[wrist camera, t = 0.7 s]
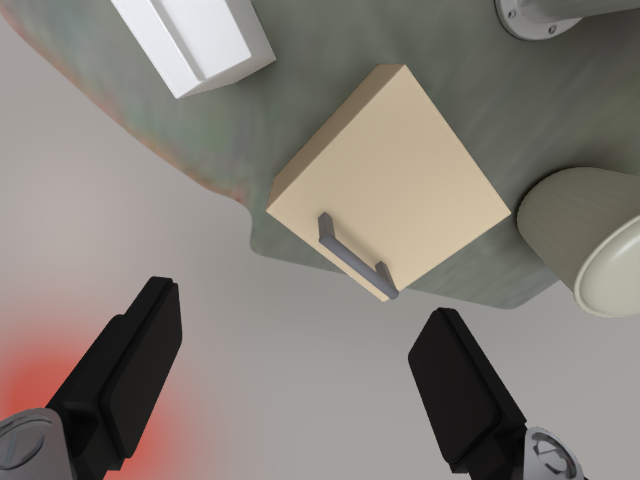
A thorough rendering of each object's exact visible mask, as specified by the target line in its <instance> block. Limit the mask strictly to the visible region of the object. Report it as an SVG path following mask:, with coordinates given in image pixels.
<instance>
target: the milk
mask: <svg viewBox="0 0 640 480" xmlns="http://www.w3.org/2000/svg"><path fill="white" fill-rule="evenodd" d="M111 1H112V3H113V4H114V6H115V7H116V9H117V10H118V12H119V13H120V15H121V16H122V18H123V19H124V21H125V22H126V24H127V25H128V27H129V28H130V30H131V32H132V33H133V35H134V36H135V38H136V39H137V41H138V42H139V44H140V45H141V47H142V48H143V50H144V51H145V53H146V54H147V56H148V57H149V59H150V60H151V62H152V63H153V65H154V66H155V68H156V69H157V71H158V72H159V74H160V75H161V77H162V78H163V80H164V81H165V83H166V84H167V86H168V87H169V89H170V90H171V92H172V93H173V95H174V96H175V98H176V99H179V98H183V97H186V96H190V95H193V94H197V93H201V92H204V91H208V90H212V89H215V88H219V87H222V86H226V85H230V84H233V83H236V82H238V81H240V80H241V79H243V78H245V77H247V76H249V75H250V74H252V73H254V72H256V71H258V70H260V69H261V68H263V67H265V66H267V65H269V64H270V63H272V62H274V61H276V57H275V55H274V53H273V50H272V48H271V46H270V44H269V41H268V39H267V37H266V35H265V33H264V30H263V28H262V26H261V24H260V21H259V19H258V17H257V15H256V13H255V10H254V8H253V6H252V4H251V2H250V0H111Z"/></svg>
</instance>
